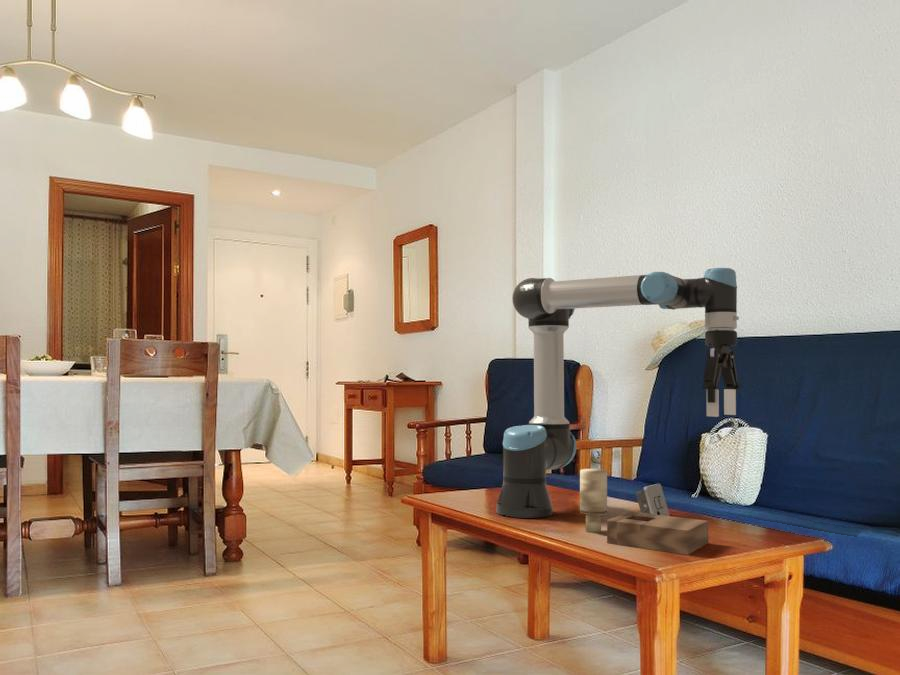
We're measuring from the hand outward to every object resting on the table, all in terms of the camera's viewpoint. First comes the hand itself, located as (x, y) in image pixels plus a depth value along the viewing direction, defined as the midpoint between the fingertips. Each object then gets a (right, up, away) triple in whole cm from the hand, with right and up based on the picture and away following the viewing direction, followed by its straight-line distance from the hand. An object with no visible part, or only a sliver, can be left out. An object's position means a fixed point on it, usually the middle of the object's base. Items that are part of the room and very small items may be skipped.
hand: (721, 415), depth 183 cm
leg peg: (-33, -27, -6) cm, 43 cm away
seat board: (-21, -26, -19) cm, 39 cm away
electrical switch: (-15, -28, +9) cm, 33 cm away
